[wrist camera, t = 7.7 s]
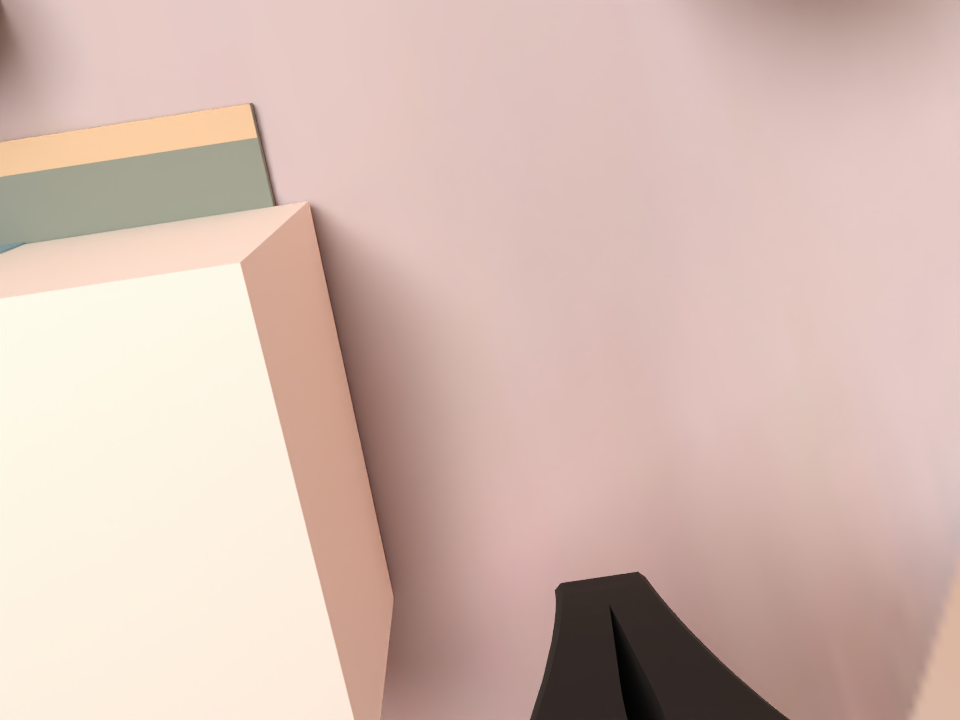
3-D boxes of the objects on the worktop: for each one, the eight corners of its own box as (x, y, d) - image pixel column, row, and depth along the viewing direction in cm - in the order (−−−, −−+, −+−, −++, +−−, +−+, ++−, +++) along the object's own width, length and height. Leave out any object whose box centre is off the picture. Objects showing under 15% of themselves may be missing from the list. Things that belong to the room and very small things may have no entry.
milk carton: (372, 796, 18) (-213, 876, 18) (394, 598, 25) (-34, 659, 25) (238, 260, 14) (-514, 373, 14) (308, 198, 20) (-202, 276, 21)
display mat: (380, 663, 26) (379, 669, 25) (-53, 722, 26) (-58, 728, 26) (252, 103, 20) (249, 103, 20) (-301, 188, 20) (-311, 189, 20)
